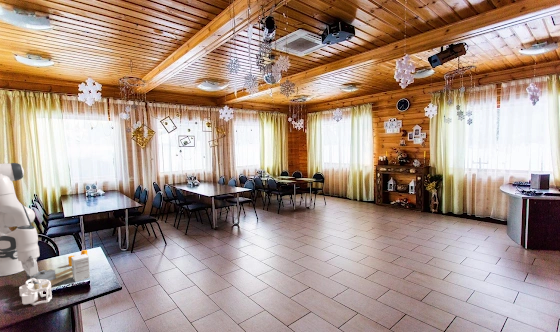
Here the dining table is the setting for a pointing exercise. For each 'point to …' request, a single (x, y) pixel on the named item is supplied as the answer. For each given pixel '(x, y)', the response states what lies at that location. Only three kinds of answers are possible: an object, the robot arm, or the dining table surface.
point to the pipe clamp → (73, 256)
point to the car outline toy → (35, 291)
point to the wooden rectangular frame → (52, 277)
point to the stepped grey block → (29, 277)
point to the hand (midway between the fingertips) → (31, 279)
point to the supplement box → (80, 267)
